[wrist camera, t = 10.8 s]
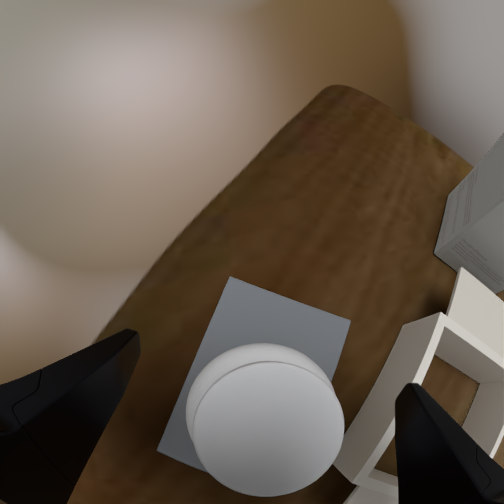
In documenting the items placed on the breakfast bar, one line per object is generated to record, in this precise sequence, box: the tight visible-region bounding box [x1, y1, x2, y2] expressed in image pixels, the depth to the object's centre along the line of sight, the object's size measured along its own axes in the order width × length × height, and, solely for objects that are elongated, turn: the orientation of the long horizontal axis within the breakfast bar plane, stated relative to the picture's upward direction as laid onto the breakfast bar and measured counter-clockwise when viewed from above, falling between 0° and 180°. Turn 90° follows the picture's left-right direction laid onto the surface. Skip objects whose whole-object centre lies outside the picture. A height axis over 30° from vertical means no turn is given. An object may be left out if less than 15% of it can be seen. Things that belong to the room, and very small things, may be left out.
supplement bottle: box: [186, 343, 344, 497], centre depth 11 cm, size 5×5×10 cm
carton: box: [333, 267, 504, 504], centre depth 13 cm, size 17×10×4 cm, turn 147°
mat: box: [157, 277, 351, 473], centre depth 16 cm, size 12×8×1 cm, turn 159°
